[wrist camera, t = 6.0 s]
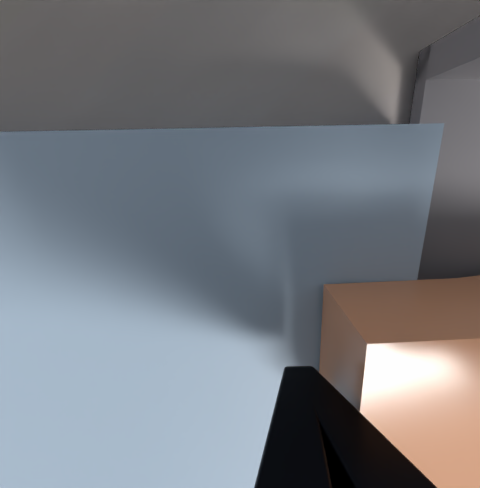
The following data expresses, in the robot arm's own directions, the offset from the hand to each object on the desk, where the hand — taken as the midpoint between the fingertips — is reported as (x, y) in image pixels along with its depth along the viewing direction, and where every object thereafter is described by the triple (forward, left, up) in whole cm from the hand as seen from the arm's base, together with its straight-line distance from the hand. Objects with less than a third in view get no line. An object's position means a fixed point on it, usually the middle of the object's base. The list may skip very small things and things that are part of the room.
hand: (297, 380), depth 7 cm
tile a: (0, -3, -1) cm, 3 cm away
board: (0, +5, -3) cm, 6 cm away
